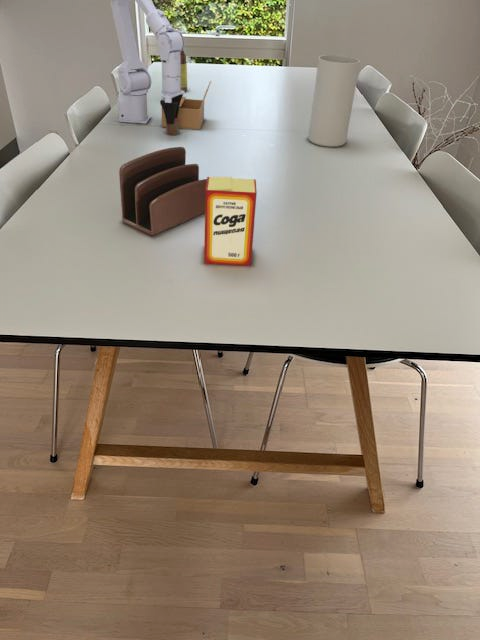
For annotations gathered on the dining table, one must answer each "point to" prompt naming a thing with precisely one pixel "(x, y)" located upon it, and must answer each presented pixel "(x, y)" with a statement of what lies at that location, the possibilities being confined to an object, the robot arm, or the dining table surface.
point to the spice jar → (172, 127)
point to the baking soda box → (229, 220)
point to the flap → (205, 94)
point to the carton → (188, 114)
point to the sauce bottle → (183, 71)
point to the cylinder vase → (333, 99)
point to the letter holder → (161, 191)
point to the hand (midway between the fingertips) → (172, 120)
